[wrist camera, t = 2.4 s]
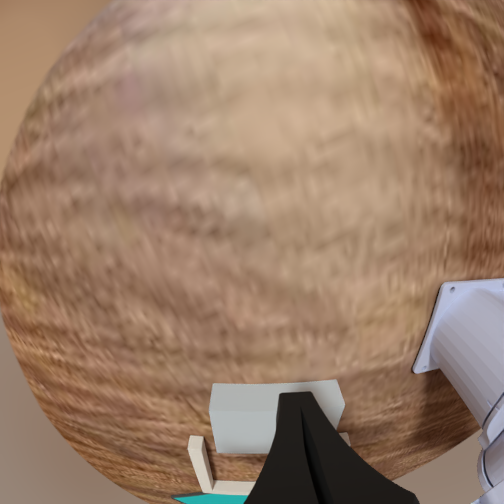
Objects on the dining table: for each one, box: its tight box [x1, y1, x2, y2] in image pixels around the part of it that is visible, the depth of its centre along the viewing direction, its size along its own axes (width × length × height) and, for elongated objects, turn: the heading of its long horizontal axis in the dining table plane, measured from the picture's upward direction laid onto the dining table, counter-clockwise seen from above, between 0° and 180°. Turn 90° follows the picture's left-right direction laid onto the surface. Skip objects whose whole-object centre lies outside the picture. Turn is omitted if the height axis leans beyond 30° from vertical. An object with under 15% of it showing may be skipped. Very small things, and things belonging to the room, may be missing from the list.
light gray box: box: [209, 380, 345, 454], centre depth 18 cm, size 9×6×3 cm, turn 90°
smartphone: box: [171, 492, 248, 504], centre depth 26 cm, size 7×1×15 cm
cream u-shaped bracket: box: [188, 432, 351, 495], centre depth 22 cm, size 14×12×2 cm
